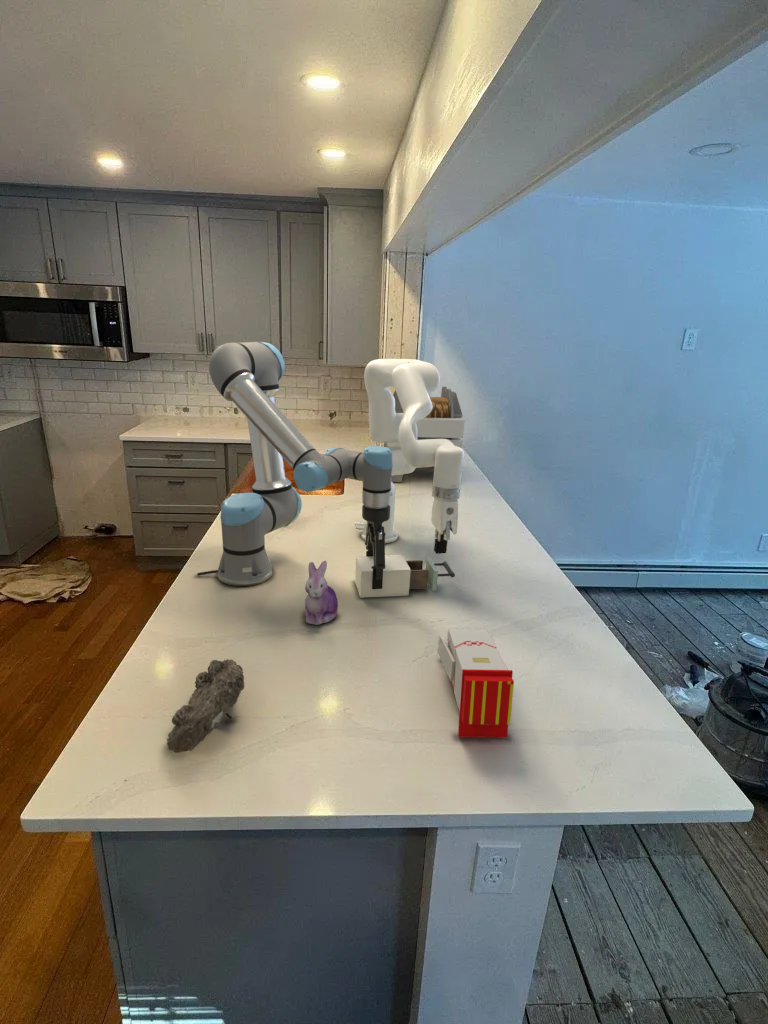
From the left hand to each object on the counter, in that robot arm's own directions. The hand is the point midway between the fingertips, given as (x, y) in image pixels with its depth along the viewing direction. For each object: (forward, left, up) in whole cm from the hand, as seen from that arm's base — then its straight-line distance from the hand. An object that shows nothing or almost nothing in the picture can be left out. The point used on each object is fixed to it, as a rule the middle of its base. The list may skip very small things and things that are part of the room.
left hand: (373, 579), depth 159 cm
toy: (+27, -41, -3) cm, 49 cm away
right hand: (+18, +7, +7) cm, 20 cm away
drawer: (+13, +4, -2) cm, 14 cm away
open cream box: (+2, +1, -3) cm, 4 cm away
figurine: (-11, -18, -3) cm, 21 cm away
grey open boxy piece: (+3, +124, -3) cm, 124 cm away
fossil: (-22, -58, -3) cm, 62 cm away
